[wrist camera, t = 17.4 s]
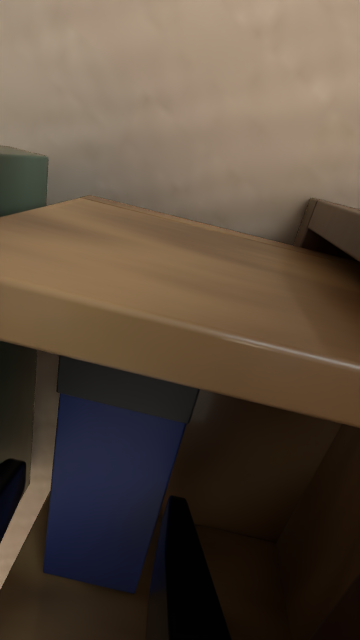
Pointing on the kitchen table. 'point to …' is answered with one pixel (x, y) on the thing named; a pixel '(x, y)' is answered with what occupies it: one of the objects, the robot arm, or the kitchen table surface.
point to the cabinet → (356, 244)
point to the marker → (110, 470)
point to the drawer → (211, 406)
